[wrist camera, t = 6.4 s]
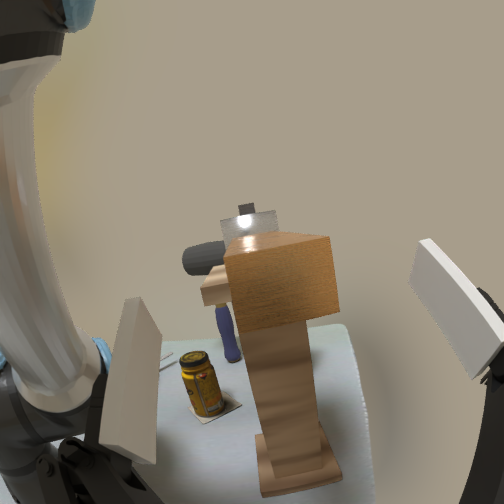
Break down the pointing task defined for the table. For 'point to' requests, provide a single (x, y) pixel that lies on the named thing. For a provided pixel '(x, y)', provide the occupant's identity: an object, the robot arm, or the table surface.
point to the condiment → (204, 387)
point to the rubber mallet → (201, 263)
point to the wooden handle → (276, 272)
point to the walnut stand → (281, 402)
